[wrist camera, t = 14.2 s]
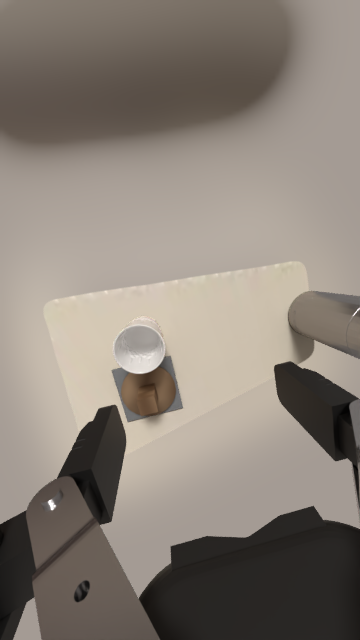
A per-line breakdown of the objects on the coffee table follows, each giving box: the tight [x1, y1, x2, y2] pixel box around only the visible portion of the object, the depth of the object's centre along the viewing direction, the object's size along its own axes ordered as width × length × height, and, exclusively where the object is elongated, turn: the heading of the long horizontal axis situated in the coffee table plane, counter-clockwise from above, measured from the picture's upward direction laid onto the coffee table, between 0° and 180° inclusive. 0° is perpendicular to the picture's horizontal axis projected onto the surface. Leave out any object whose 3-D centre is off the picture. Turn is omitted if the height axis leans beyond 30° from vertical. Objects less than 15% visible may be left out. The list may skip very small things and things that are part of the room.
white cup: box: [113, 316, 165, 374], centre depth 38 cm, size 8×8×10 cm
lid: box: [121, 366, 176, 416], centre depth 42 cm, size 11×11×6 cm
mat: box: [112, 356, 183, 422], centre depth 45 cm, size 12×12×1 cm
